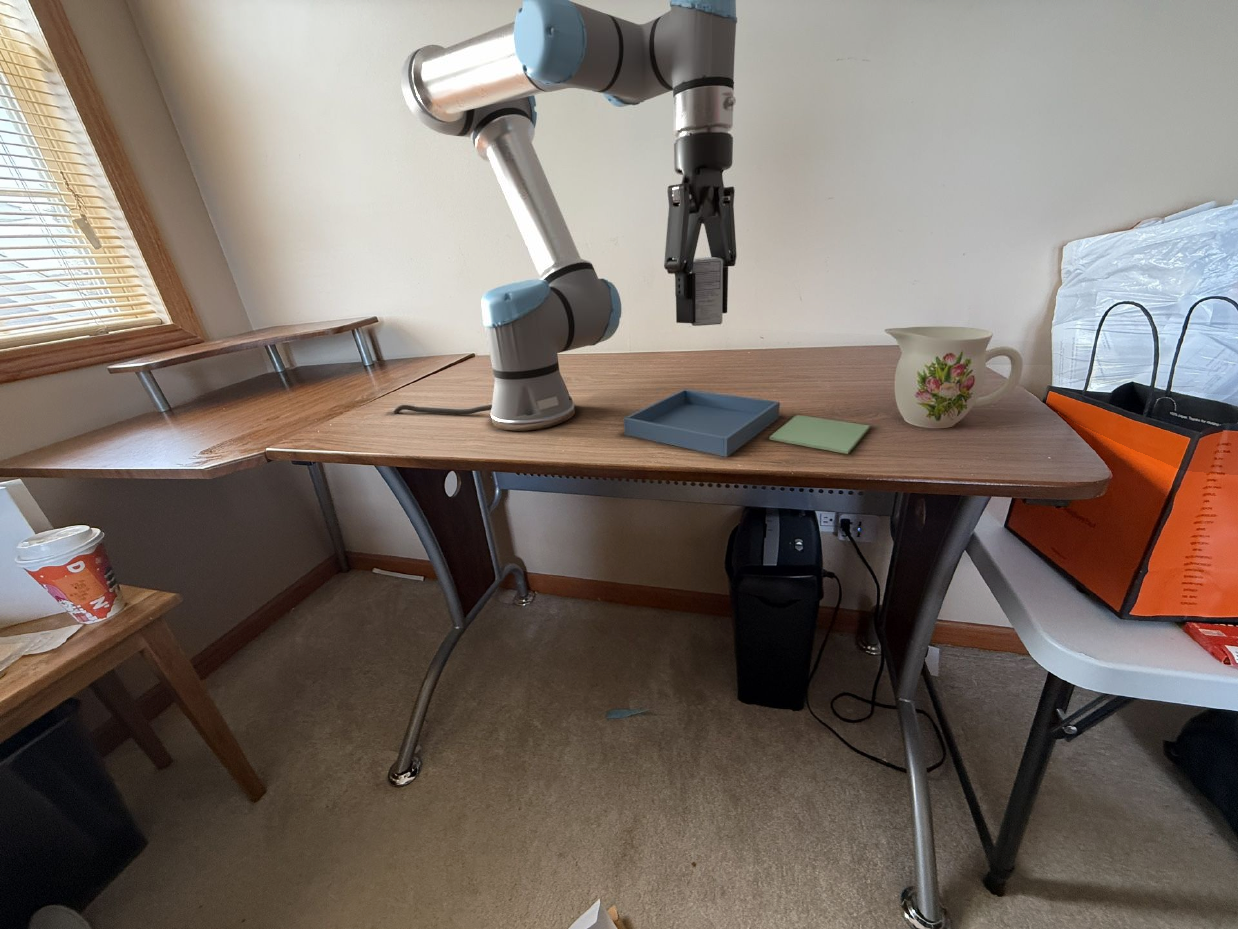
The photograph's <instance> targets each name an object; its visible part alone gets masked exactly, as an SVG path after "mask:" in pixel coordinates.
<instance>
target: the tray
mask: <svg viewBox="0 0 1238 929" xmlns="http://www.w3.org/2000/svg"><path fill="white" fill-rule="evenodd" d="M780 406H781V401H777V400H770V399H761V398H755V397H748V396H739V395H733V394H732V395H731V394H724V393H717V392H710V391H702V390H695V389H686V388H683V389H681V390H679V391H677V392H675V393H673V394H671V395H669V396H666V397H665V398H663V399H661V400H658V401H657V402H655V403H652V404H650V405H649V406H646V407H644V408H642V409H640V410H638V411H635V412H634V413H631V414H630V415H628V416H625V417H623V428H624V436H628V437H632V438H638V439H643V440H646V441H651V442H657V443H661V444H665V445H669V446H675V447H680V448H683V449H688V450H693V451H698V452H702V453H706V454H711V455H716V456H721V457H725V458H728V457H729V456H731V455H732V454H733V453H735V452H736V451H738V449H740V448H741V447H742V446H744V445H745V444H746V443H748V442H749V441H751V440H752V439H753V438H754V437H756V436H757V435H759V433H761V432H763V431H764V430H765V429H766V428H767V427H769V426H770V425H772V424H773V423H775V422H776V421H777V420H778V419H779V418H780Z"/></svg>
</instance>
